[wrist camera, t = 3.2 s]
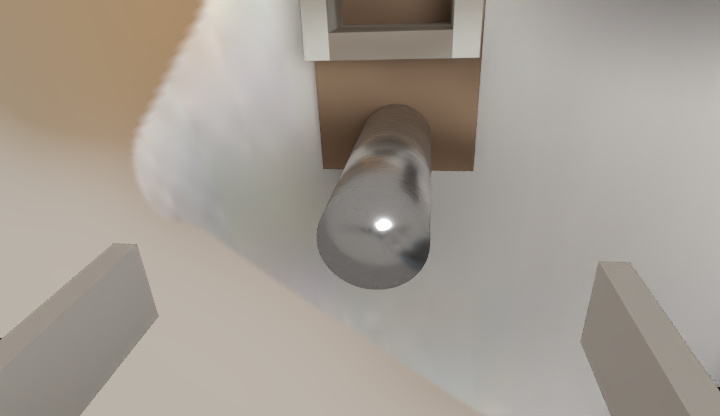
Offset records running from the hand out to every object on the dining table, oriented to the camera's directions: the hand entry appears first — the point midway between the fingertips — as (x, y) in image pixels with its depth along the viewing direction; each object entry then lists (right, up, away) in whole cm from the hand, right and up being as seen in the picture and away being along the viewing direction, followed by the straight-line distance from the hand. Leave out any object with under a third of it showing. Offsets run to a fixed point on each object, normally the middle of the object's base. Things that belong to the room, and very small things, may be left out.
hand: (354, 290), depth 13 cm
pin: (+2, +7, +13) cm, 15 cm away
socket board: (+2, +12, +12) cm, 17 cm away
